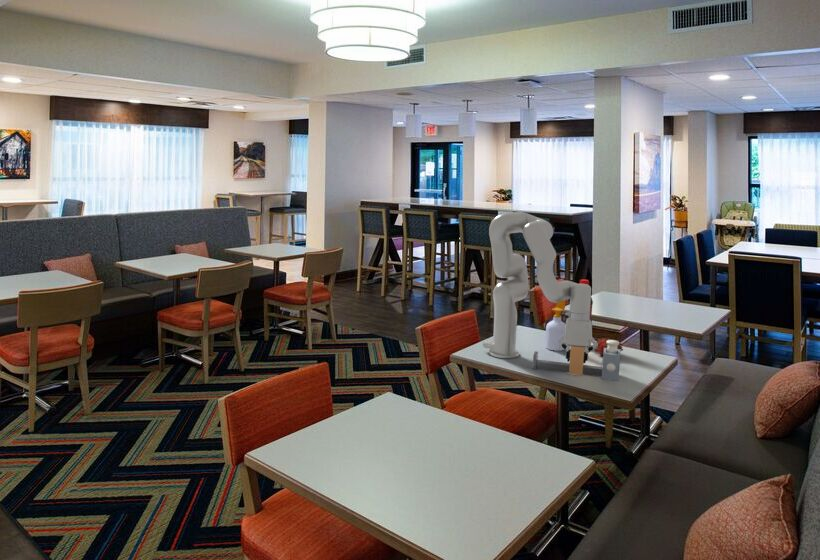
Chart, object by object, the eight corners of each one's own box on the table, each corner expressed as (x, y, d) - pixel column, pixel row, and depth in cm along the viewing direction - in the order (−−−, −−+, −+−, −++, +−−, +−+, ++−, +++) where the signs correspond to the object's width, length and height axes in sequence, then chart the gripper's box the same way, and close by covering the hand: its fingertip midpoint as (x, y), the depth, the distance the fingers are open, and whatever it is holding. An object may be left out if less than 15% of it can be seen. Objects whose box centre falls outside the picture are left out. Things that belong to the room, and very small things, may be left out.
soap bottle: (541, 348, 261) (544, 294, 257) (550, 343, 268) (553, 290, 264) (560, 352, 256) (564, 297, 251) (569, 347, 263) (572, 293, 258)
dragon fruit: (590, 356, 256) (619, 364, 252) (592, 350, 248) (621, 358, 245) (595, 339, 259) (623, 346, 255) (596, 332, 251) (626, 339, 248)
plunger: (605, 355, 224) (606, 342, 223) (605, 351, 228) (606, 339, 227) (618, 356, 223) (619, 343, 222) (618, 353, 227) (619, 340, 226)
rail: (532, 369, 234) (533, 354, 233) (534, 365, 238) (534, 351, 237) (604, 378, 225) (605, 362, 224) (604, 373, 230) (605, 359, 229)
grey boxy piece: (601, 379, 224) (603, 354, 222) (601, 372, 232) (603, 347, 230) (618, 381, 222) (620, 355, 220) (618, 374, 230) (620, 349, 228)
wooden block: (568, 373, 228) (570, 346, 226) (570, 368, 235) (571, 341, 233) (582, 375, 227) (584, 347, 225) (583, 369, 233) (585, 342, 231)
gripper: (555, 316, 226) (553, 362, 229) (602, 320, 220) (599, 367, 224) (557, 312, 233) (554, 356, 236) (602, 315, 227) (599, 361, 231)
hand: (576, 361), depth 230 cm, fingers open, 5 cm apart
